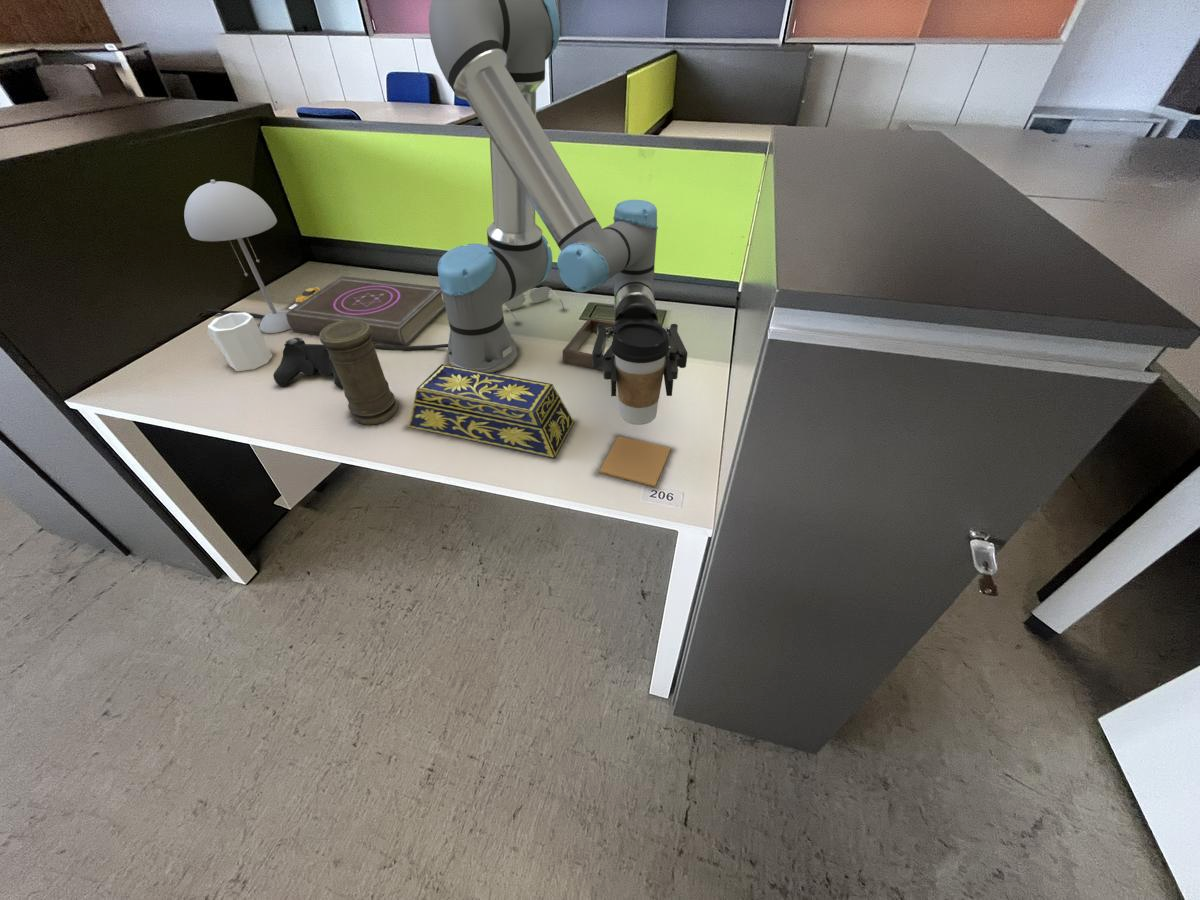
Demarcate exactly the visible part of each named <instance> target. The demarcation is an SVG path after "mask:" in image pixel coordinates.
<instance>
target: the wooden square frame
mask: <svg viewBox="0 0 1200 900" xmlns="http://www.w3.org/2000/svg"><path fill="white" fill-rule="evenodd" d="M614 323H615V321H610V320H604V319H598V318H592V317H589V318H587V320H586V321H585V322H584V323H583V325H582V326H581V327H580V328H579V330H578V331H577V332H576V333H575V335H573V337H572V338H571V339H570V341H569V342H568V343H567V345H565V347H564V348H563V350H562V362H563V363H564V364H565V363H566V364H568V365H569V364H570V365H575V366H580V367H585V368H590V369H595V370H598V371H599V370H600V371H603V367H599V368H593V366H592V353H589V352H585V351H579V349H580V347H581V345H583V343H584V342H585V341H586V339H587V338H588V337H589V336H590V334H591V333H592V332H593V333H597V325H598V324H603V325H604V326H605V328H606V327H607V328H609V327H612V326H613V324H614Z"/></svg>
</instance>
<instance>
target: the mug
mask: <svg viewBox="0 0 1200 900" xmlns="http://www.w3.org/2000/svg"><path fill="white" fill-rule="evenodd" d="M242 312H243V313H229V314H224V315H221V316H219V317H215V318H214V319H213V320H212V321H211V322H210V323H209V324H208V325H207V331H206V334H207V335H208V336H209V338H210V339H211V340H212V342H213V343H214V344H215V346H216V347H217V348H218V349H219V350H220V351H221V353H222V354H223V356H224V358H225V360H226V361H227V363H228V365H229V366H230V367H231V368H232V369H234V370H235V371H236V372H241V371H242V372H243V371H251V370H255V369H258V368H259V367H261V366H264V365H266V364H268V363H269V361H270V360H271V358H272V357H273V354H272V351H271V350H270V348H269V346H268V344H267V341H266V339H265V338H264V335H263V334H262V331H261V330H260V329H259V325H258V324H257V322H256V319H255V317H253V316H251V315H250V314H248V313H249V312H247V311H242ZM246 312H247V313H246Z"/></svg>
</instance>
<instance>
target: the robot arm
mask: <svg viewBox="0 0 1200 900" xmlns="http://www.w3.org/2000/svg"><path fill="white" fill-rule="evenodd" d="M558 11H559V10H558V7H557V5H556V1H555V0H430V5H429V12H428V30H429V31H428V32H429V38H430V39H429V40H430V43H431V46H432V50H433V54H434V56H435V59H436V61H437V65H438V66H439V69H440V71H441V73H442V74H443V75H442V76H444V78H445V80H446V82H447V83H448V86H449V87H450V88H451V90H452V92H453V93H454V95H455V96H456V97H457V98H459V99H461V100H465V101H467V103H468V104H469V106H470V107H471V109H472V111H473V112H474V114H475V116H476V118H477V119H478V121H479V122H480V123H481V125H482V127H483V128H484V130H485V132H486V133H487V135H488V136H489V156H490V172H491V193H492V210H493V211H492V213H493V221H492V223H490V224H489V225H488V226H487V229H486V238H487V239H486V240H487V244H483V243H468V244H466V245H459V246H455V247H453V248H451V249H449V250H448V251H446V252H445V253H444V254H443V255H442V256H441V257H440V259H439V261H438V263H437V275H438V285H439V286H438V287H440V288H441V290H442V300H443V302H444V303H445V311H446V316H447V320H448V325H449V335H448V336H449V337H448V343H441V344H429V345H407V346H392V345H385V344H378V343H373V344H374V346H375V349H383V350H403V351H404V350H406V351H407V350H408V351H409V350H411V351H412V350H430V349H431V350H434V349H444V348H446V349H447V353H446V354H447V359H448V363H449V365H450V366H455V367H461V368H466V369H472V370H477V371H483V372H488V373H494V374H495V373H498V372H499V371H502V370H504V369H506V368H508V367H509V366H511V365H512V364H513V363H514V361H515V360H516V359H517V357H518V349H517V345H516V342H515V340H514V338H513V336H512V335H511V333H510V331H509V328H508V326H507V325H506V322H505V317H504V310H503V305H504V304H505V303H506V302H507V301H509V300H511V299H513V298H515V297H517V296H519V295H520V294H525V293H526V292H528V291H531V290H534V289H536V287H537V286H539V285H540V284H541V283H543V282H544V281H545V280H546V279H547V278H548V276H550V273H551V271H552V268H553V252H552V249H551V246H549V245H548V244H549V242H548V239H547V238H546V237H545V236H544V235H543V229H542V228H541V227H540V226H539V225H538V224H537V223H536V213H537V215H538V216H539V218H540V220H541V222H542V223H543V224H544V226H545V227H546V229H547V230H548V232H549V234H550V235H551V237H552V239H553V240H554V242H555V244H556V245H557V247H558V248H559V250H560V253H559V255H558V256H557V262H556V265H557V266H556V267H557V269H558V272H559V273H558V275H559V277H560V279H561V280H562V282H563V284H565V286H567V288H568V289H571V290H572V291H575V292H578V293H585V292H588V291H591V290H593V289H595V288H596V287H598V286H602V285H604V284H605V283H606V282H607V281H608V280H610V279H611V278H613V279H612V280H613V295H614V301H613V302H614V304H613V305H614V306H613V307H614V309H613V310H614V322H615V323H614V324H613V326H612V327H609V328H607V327H606V328H605V326H604V325H603V324H598V325H597V332H596V339H595V342H594V345H593V349H592V352H591V354H592V366H593V368H592V369H594V368H599V367H603V370H602V371H603V379H604V380H610V395H611V397H617V381H616V366H615V364H616V360H615V364H614V359H615V354H614V353H613V351H612V344H611V345H610V346H609V347H608V348H607V350H606V347H607V342H609V339H610V338H611V336H613V333H614V330H615V328H616V327H617V326H618V325H620V324H623V323H628V322H646V323H652V324H656V325H658V326H661V327H662V328H664V329H665V330H666V331H667V334H668V341H669V351H668V353H667V355H666V356H665V361H666V363H665V368H664V374H663V379H664V387H665V395H666V397H672V396H673V388H674V380H678V376H679V375H678V374H679V368H680V369H684V368H686V367H687V359H688V350H687V348H686V347H685V345H684V342H683V340H682V339H681V337H680V334H679V332H678V331H679V330H678V329H679V325H678V324H677V323H671V324H670V326H667V327H666V326H663V325H662V324H661V323H660V322H659V318H658V312H657V311H658V310H657V304H656V298H655V291H654V289H655V287H654V283H655V261H656V249H657V248H656V247H657V237H658V228H659V227H658V208H657V207H656V205H655V204H654V203H652V202H650V201H648V200H644V199H626V200H622V201H620V202H618V203H617V204H616V205H615V207H614V212H613V213H614V215H613V218H612V219H613V223H611V224H609V225H607V226H606V227H603V228H602V225H601V224H600V223H599V220H597V218H596V216H595V215H594V213H593V211H592V209H591V208H590V206H589V204H588V203H587V200H586V199H585V198H584V196H583V195H582V192H581V191H580V189H579V188H578V186H577V184H576V182H575V181H574V179H573V178H572V176H571V174H570V173H569V171H568V169H567V167H566V166H565V164H564V163H563V161H562V159H561V157H560V156H559V153H558V152H557V150H556V149H555V147H554V145H553V144H552V142H551V141H550V138H549V137H548V135H547V134H546V131H545V130H544V129H543V127H542V125H541V124H540V122H539V120H538V119H537V90H538V89H539V87H540V86H541V85H542V84H543V83H544V82H545V80H546V60H548V59H549V58H550V57H551V56H552V55H553V54H554V51H555V50H556V49H557V47H558V43H559V39H560V31H561V29H560V28H561V27H560V26H561V23H560V16H559V12H558ZM206 309H207V313H215V314H216V313H217V314H224V315H226V314H229V313H243V312H244V311H240V310H239V311H238V310H223V309H216V308H214V309H213V308H206ZM245 312H246V313H248V314H250V315H251V316H253V318H259V319H263V318H264V317H265V316H266V314H265V315H264V314H260V313H254V312H247V311H245ZM203 314H205V313H199V314H198V313H197V314H196V317H197V318H200V317H201V316H202V315H203ZM314 334H316V335H315V336H318V337H320V333H314ZM314 334H313V335H314ZM605 350H606V351H605Z"/></svg>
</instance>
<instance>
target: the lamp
mask: <svg viewBox="0 0 1200 900" xmlns="http://www.w3.org/2000/svg"><path fill="white" fill-rule="evenodd" d="M183 216H184V217H183V218H184V225H185V227H186V230H187V232H188V234H189V236H190V237H191V238H192V239H193V240H197V241H200V242H225V241H226V242H227V241H229V243H230V245H231V247H232V250H233V251H234V254H235V256H236V258H237V259H238V262H239V264H240V266H241V268H242V270H243V272H244V273H243V275H244V276H245V277H248V276H249V273H247V272H246V271H245V268H244V265H243V264H242V262H241V260H240V258H239V256H238V254H237V252H236V249H235V247H234V245H233V244H232V241H233V240H237V242H238V244H239V247H240V249H241V251H242V253H243V255H244V257H245V259H246V262H247V263H248V265H249V268H250V270H251V272H252V274H253V276H254V278H255V281H256V282H257V284H258V287H259V289H260V291H261V293H262V295H263V298H264V299H265V301H266V304H267V305H268V308H269V310H270V312H269V313H267V314H265V317H264V318H261V320H260V323H259V326H258V328H259V330H260V332H261V333H262V332H263V333H266V334H277V333H282V332H285V331H288V330H292V329H291V327H290V325H289V323H288V321H287V317H286V313H287V312H288V311H287V310H276V307H275V306H274V303H273V302H272V299H271V297H270V295H269V293H268V290H267V288H266V286H265V284H264V282H263V279H262V277H261V275H260V273H259V271H258V269H257V267H256V264H255V263H254V260H253V258H252V256H251V254H250V251H249V250H248V247H247V245H246V244H245V241H244V239H245V238H246V239H247V241H248V244H249V246H250V248H251V251H252V252H253V255H254V257H255V258H256V260H255V261H256V263H258V264H259V263H260V259H259V258H258V257H257V255H256V253H255V250H254V249H253V246H252V244H251V242H250V240H249V237H253V236H255V235H259V234H261V233H264V232H266V231H269V230H270V229H271V228H273V227H274V226H276V224H277V223H278V219H277V217H276V214H275V213H274V212H273V210H272V208H271V207H270V206H269V204H268V203H267V202H266V201H265V200H264V199H263V198H262V197H261V196H260V195H258V194H257V193H256V192H254V191H253V190H251V189H250V188H248V187H246V186H244V185H242V184H238V183H235V182H230V181H223V180H221V181H218V180H217V181H216V179H210V182H207V183H204V184H202V185H200V186H198V187H197V188H196V189H195V190H194V191H192V193H190V195H189V197H188V198H187V200H186V202H185V205H184V213H183Z"/></svg>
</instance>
